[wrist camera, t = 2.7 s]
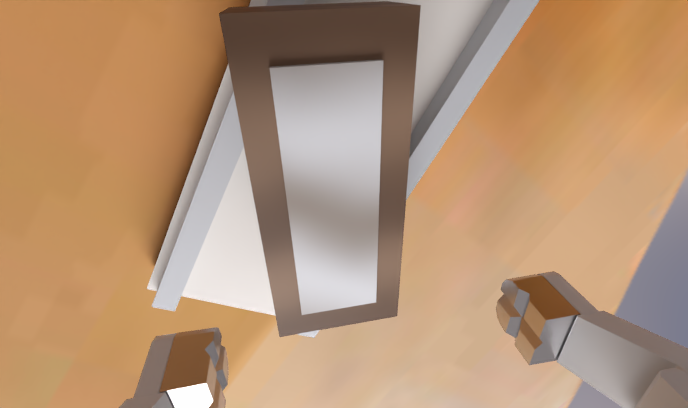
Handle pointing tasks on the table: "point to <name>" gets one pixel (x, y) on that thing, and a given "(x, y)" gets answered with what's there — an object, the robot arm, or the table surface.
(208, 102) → the table surface
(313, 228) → the picture frame
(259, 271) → the picture ledge
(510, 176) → the table surface
